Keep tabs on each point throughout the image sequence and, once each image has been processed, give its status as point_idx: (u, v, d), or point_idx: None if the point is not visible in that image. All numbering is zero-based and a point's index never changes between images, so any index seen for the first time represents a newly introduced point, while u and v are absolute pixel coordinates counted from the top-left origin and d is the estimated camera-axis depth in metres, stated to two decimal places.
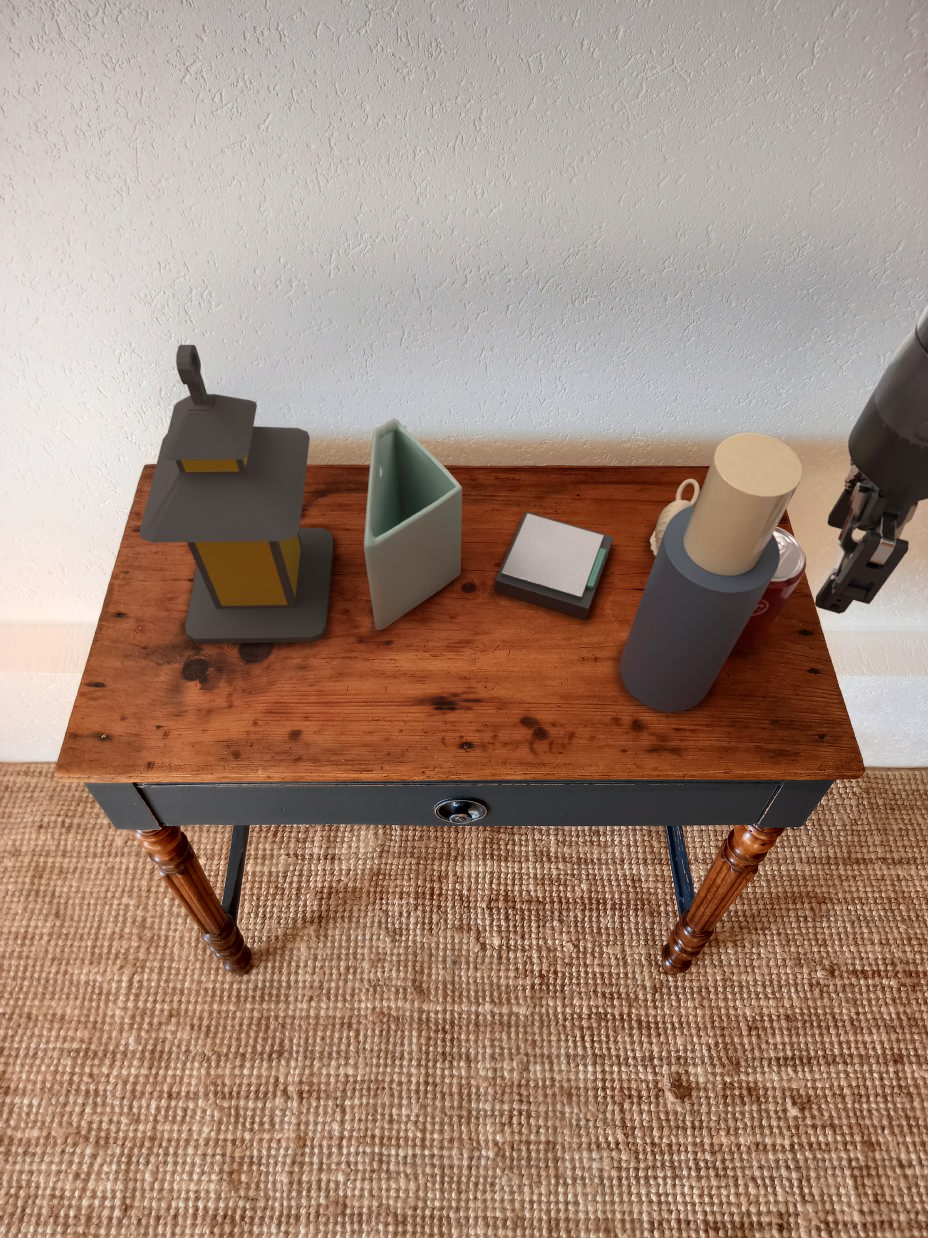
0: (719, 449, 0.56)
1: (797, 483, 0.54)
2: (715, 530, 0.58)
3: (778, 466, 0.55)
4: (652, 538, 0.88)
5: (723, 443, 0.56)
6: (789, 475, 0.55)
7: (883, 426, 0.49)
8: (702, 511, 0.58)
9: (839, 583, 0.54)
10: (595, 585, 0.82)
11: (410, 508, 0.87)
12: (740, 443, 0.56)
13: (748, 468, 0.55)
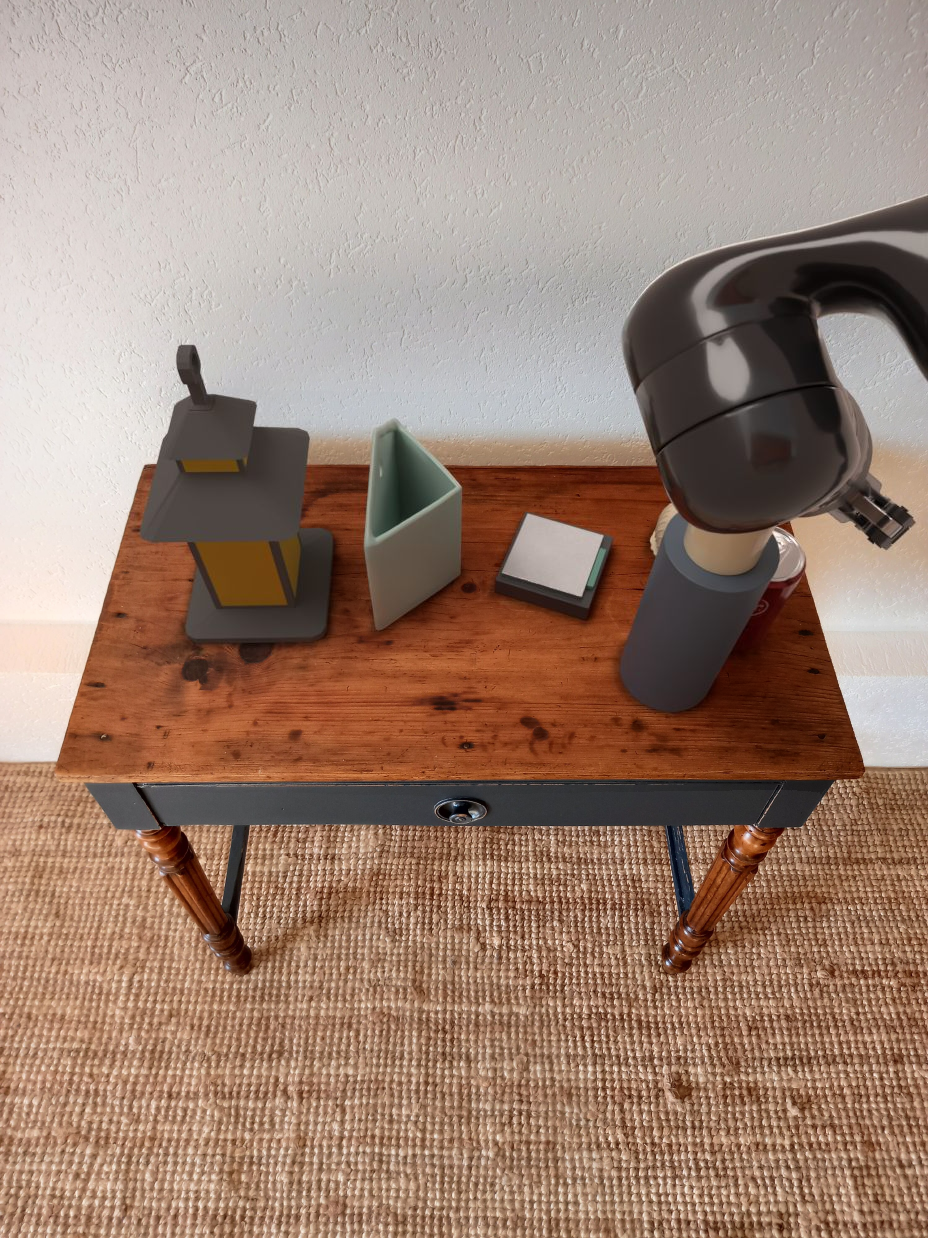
0: None
1: None
2: None
3: None
4: (652, 538, 0.88)
5: None
6: None
7: None
8: None
9: (884, 548, 0.52)
10: (595, 585, 0.82)
11: (410, 508, 0.87)
12: None
13: None
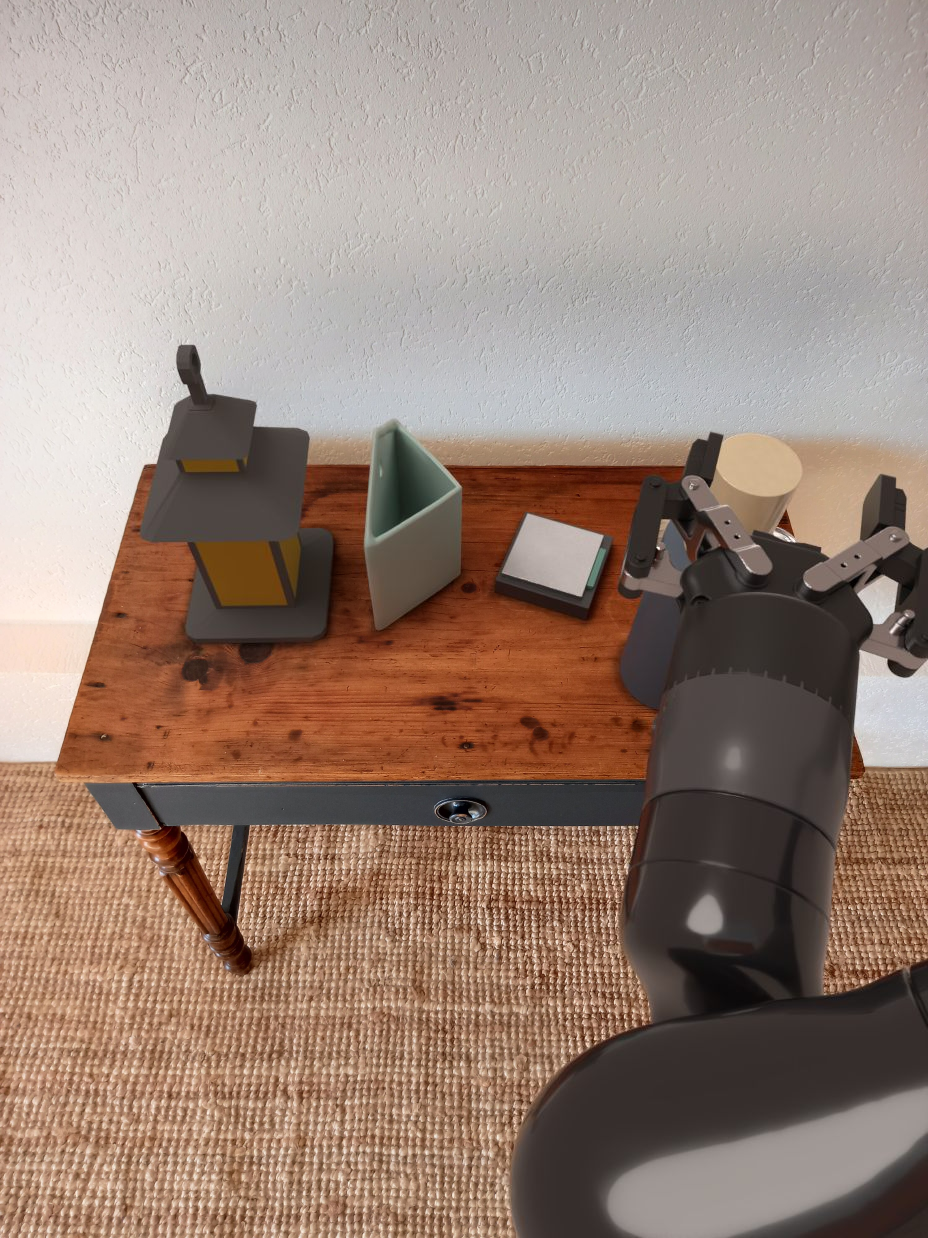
0: None
1: (797, 484, 0.54)
2: None
3: (779, 466, 0.55)
4: None
5: (724, 443, 0.56)
6: (789, 476, 0.55)
7: None
8: None
9: None
10: (595, 585, 0.82)
11: (410, 508, 0.87)
12: (741, 443, 0.56)
13: (748, 468, 0.55)
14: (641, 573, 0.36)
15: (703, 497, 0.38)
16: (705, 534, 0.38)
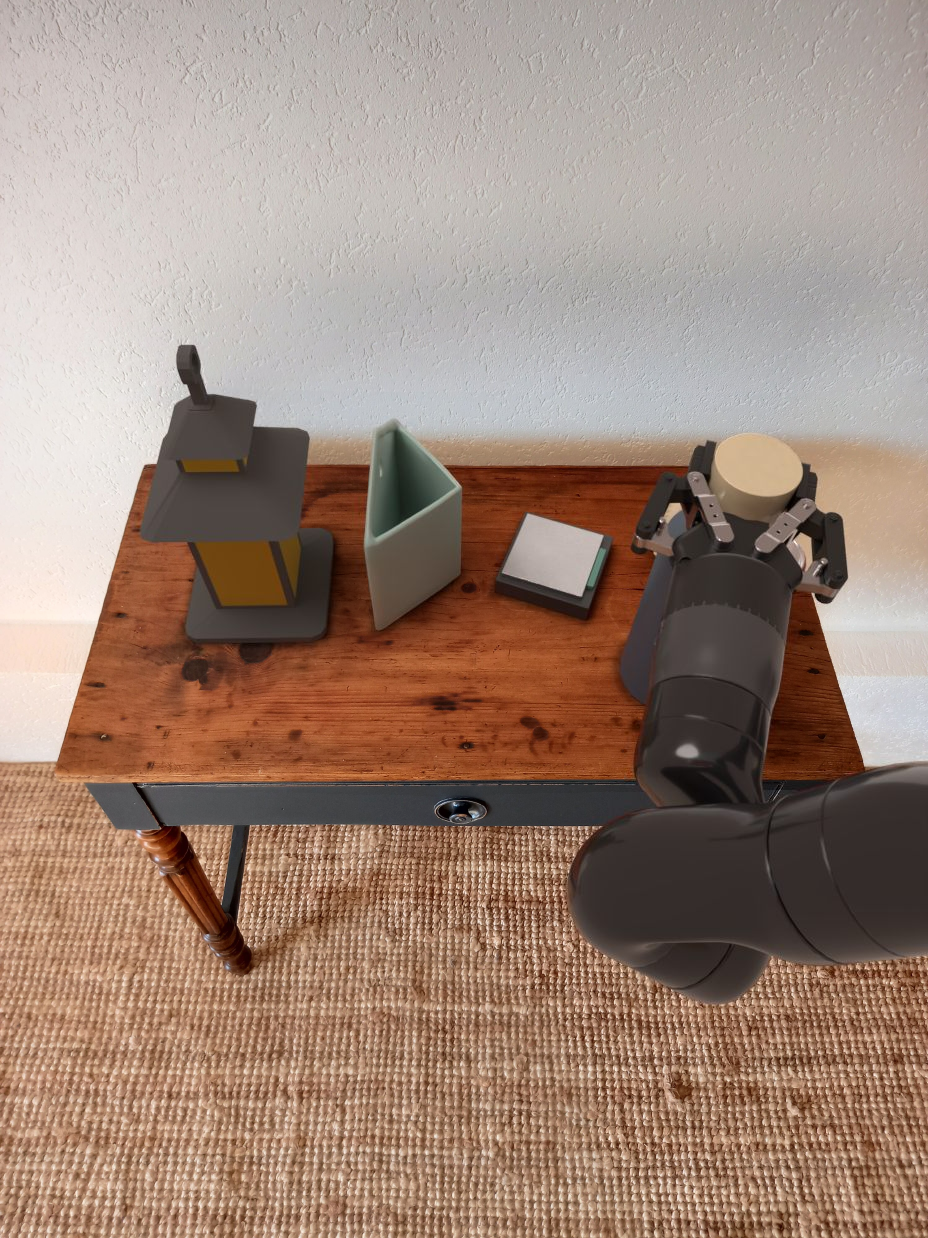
0: (720, 449, 0.56)
1: (797, 483, 0.54)
2: None
3: (779, 466, 0.55)
4: None
5: (724, 443, 0.56)
6: (789, 476, 0.55)
7: None
8: None
9: None
10: (595, 585, 0.82)
11: (410, 508, 0.87)
12: (741, 443, 0.56)
13: (749, 468, 0.55)
14: (645, 536, 0.53)
15: (702, 487, 0.55)
16: (697, 513, 0.55)
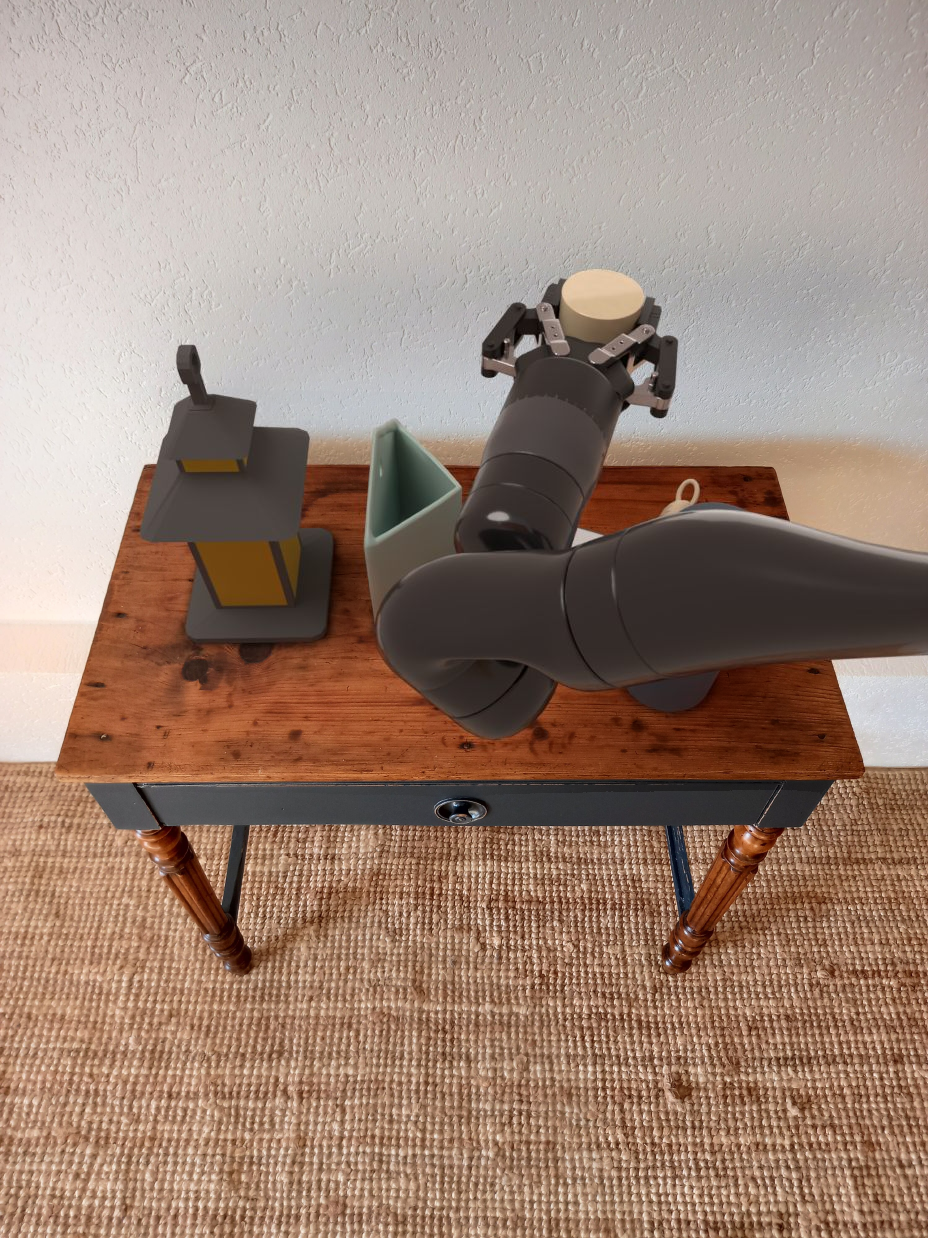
0: (568, 281, 0.59)
1: (636, 309, 0.57)
2: None
3: (621, 295, 0.58)
4: None
5: (572, 276, 0.59)
6: (630, 303, 0.57)
7: None
8: None
9: None
10: None
11: (410, 508, 0.87)
12: (589, 277, 0.59)
13: (592, 296, 0.58)
14: (489, 354, 0.56)
15: (549, 314, 0.58)
16: (543, 338, 0.57)
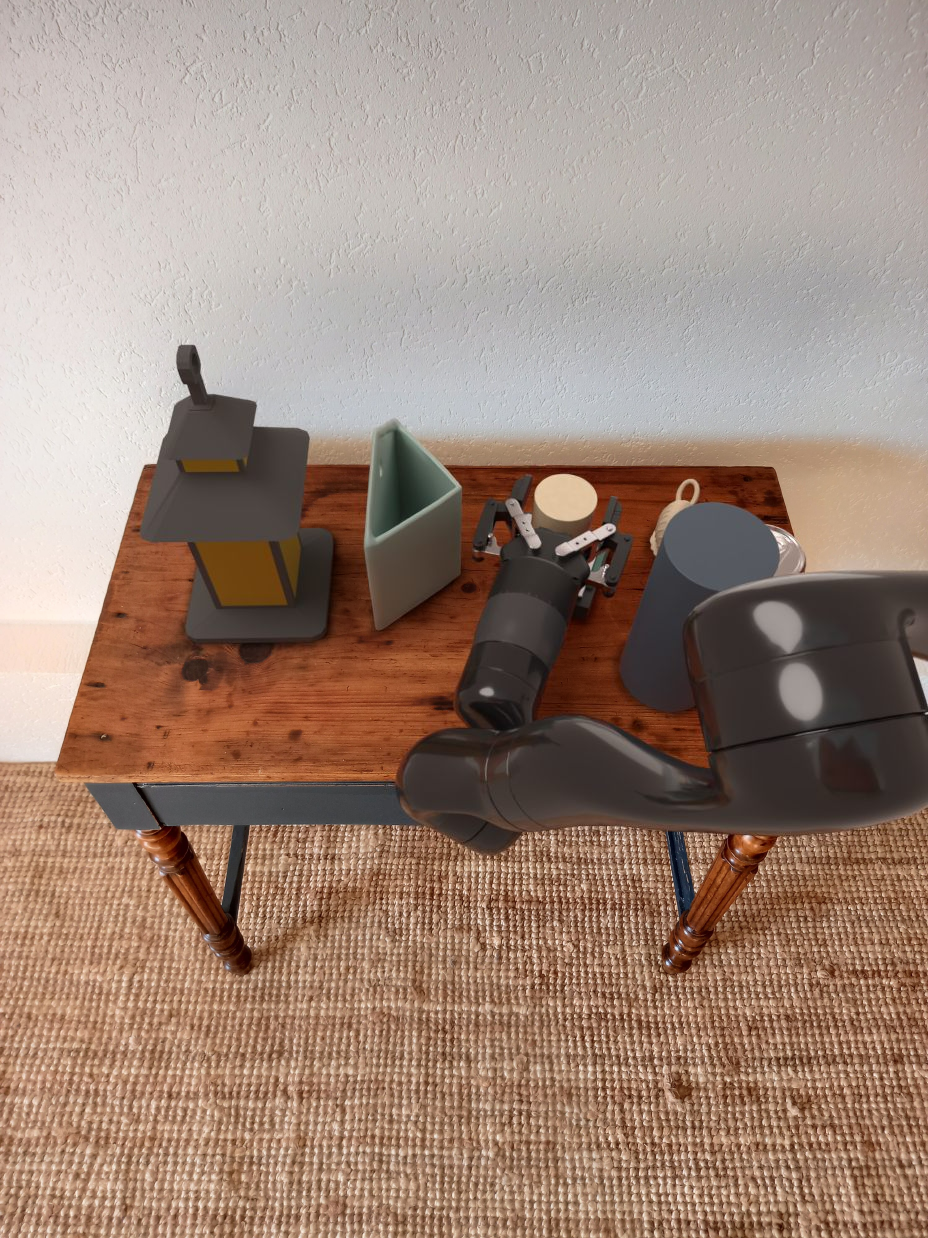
0: (539, 486, 0.77)
1: (591, 511, 0.75)
2: None
3: (580, 499, 0.76)
4: (652, 538, 0.88)
5: (543, 481, 0.77)
6: (586, 506, 0.76)
7: None
8: None
9: None
10: None
11: (410, 508, 0.87)
12: (555, 481, 0.77)
13: (558, 500, 0.76)
14: (480, 549, 0.73)
15: (515, 510, 0.75)
16: (516, 529, 0.75)
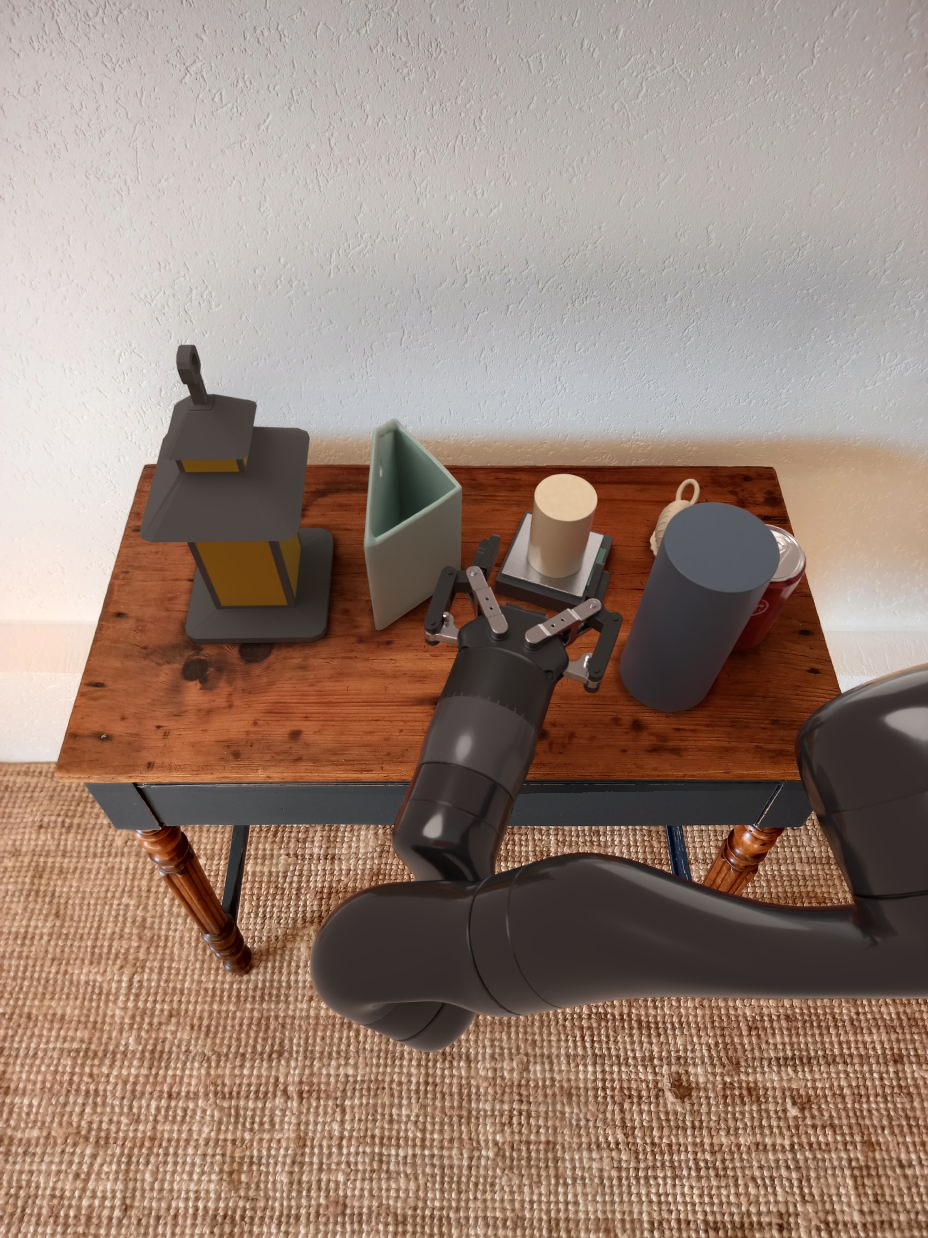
0: (539, 486, 0.77)
1: (591, 511, 0.75)
2: (540, 544, 0.79)
3: (580, 499, 0.76)
4: (652, 538, 0.88)
5: (543, 481, 0.77)
6: (586, 506, 0.76)
7: None
8: (532, 530, 0.79)
9: None
10: None
11: (410, 508, 0.87)
12: (555, 481, 0.77)
13: (558, 500, 0.76)
14: (432, 631, 0.59)
15: (478, 581, 0.61)
16: (478, 604, 0.61)
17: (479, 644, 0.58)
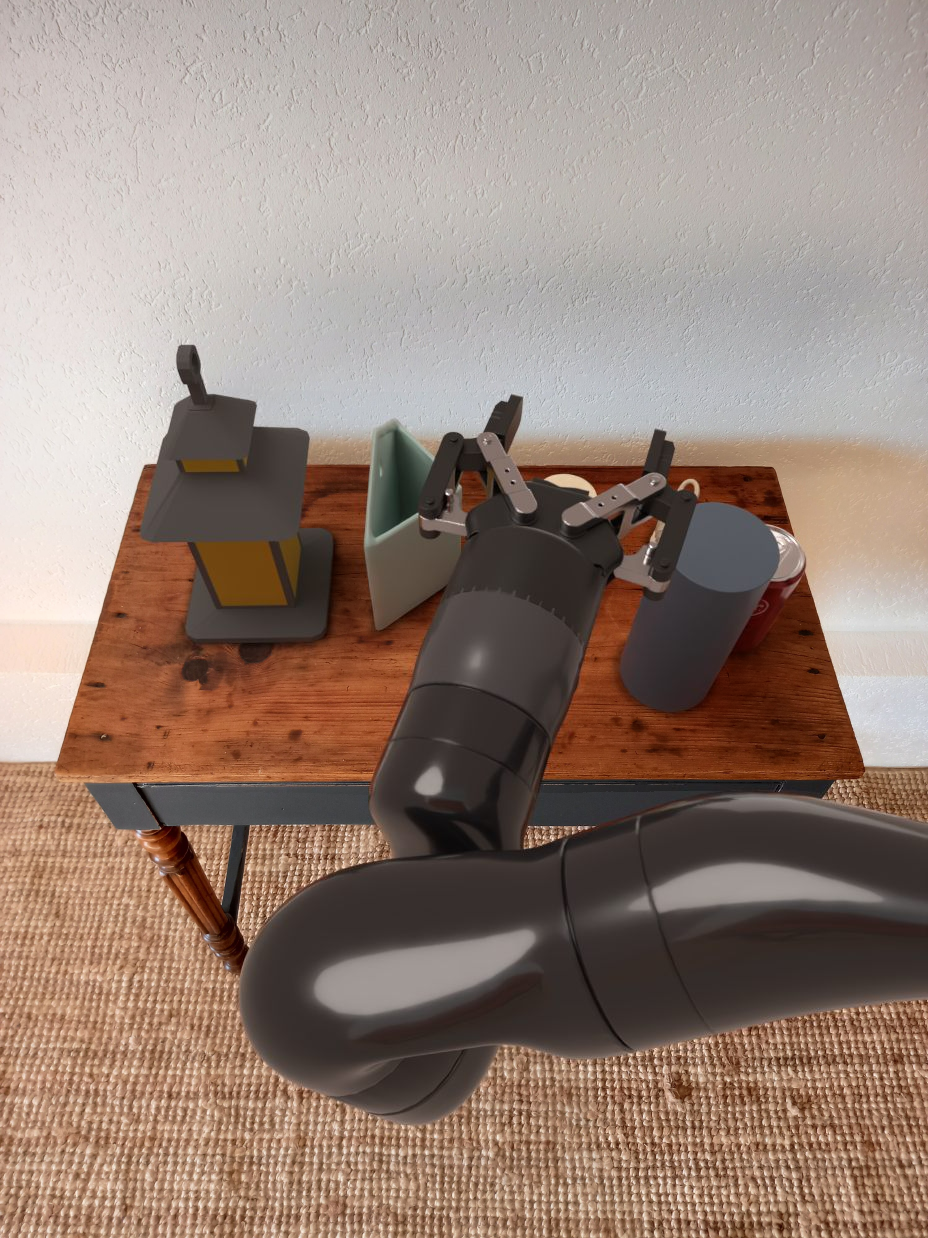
0: None
1: None
2: None
3: None
4: (652, 538, 0.88)
5: None
6: None
7: None
8: None
9: None
10: None
11: (410, 508, 0.87)
12: (555, 481, 0.77)
13: None
14: (430, 515, 0.42)
15: (493, 450, 0.44)
16: (494, 482, 0.44)
17: None
